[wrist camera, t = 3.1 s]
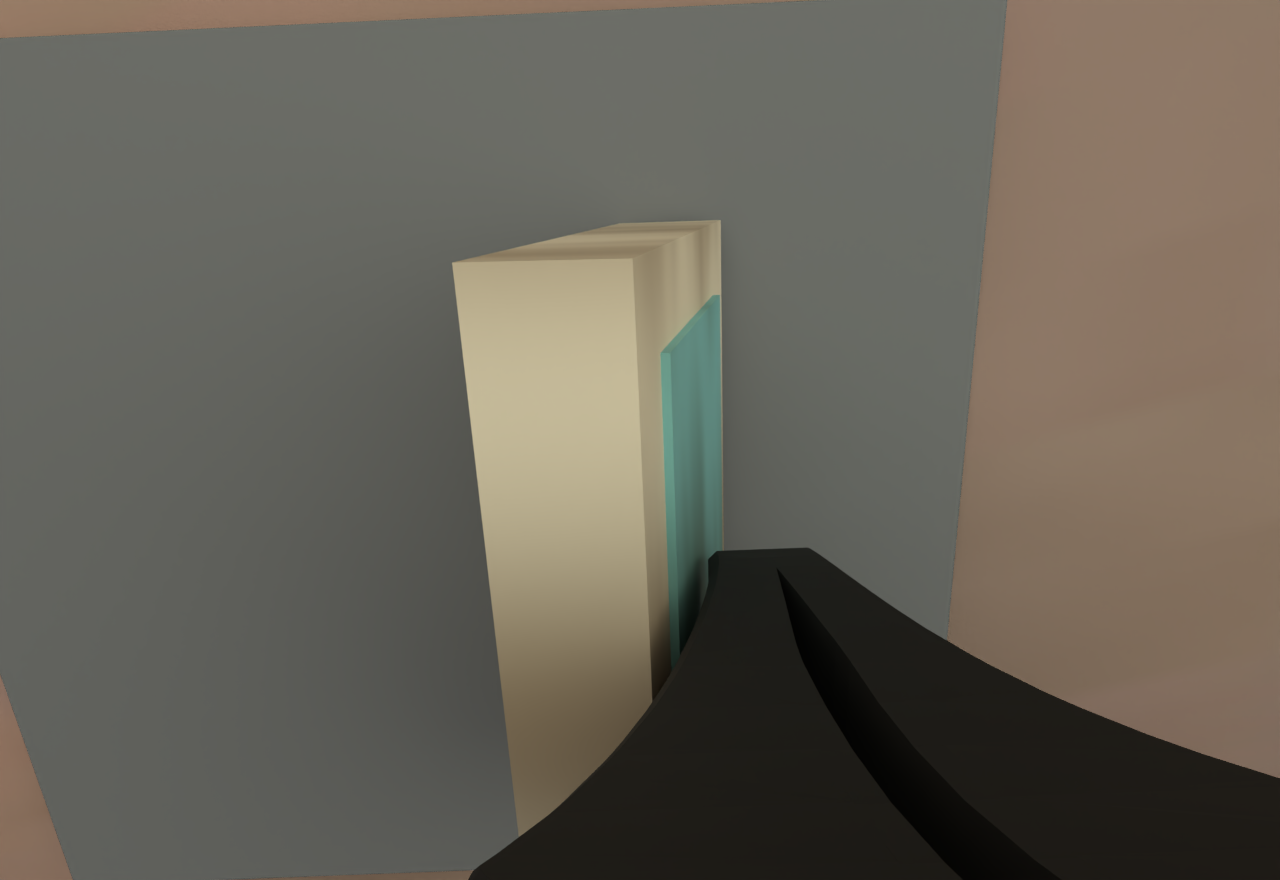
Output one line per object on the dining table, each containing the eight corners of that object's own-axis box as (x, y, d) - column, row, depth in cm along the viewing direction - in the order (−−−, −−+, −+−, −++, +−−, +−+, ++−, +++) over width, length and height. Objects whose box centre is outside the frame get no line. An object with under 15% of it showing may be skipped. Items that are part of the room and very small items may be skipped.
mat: (916, 830, 17) (926, 852, 16) (93, 861, 17) (75, 884, 16) (990, 0, 12) (1007, -9, 11) (-180, 55, 12) (-221, 48, 11)
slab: (730, 756, 15) (677, 1095, 9) (645, 745, 15) (545, 1067, 10) (726, 219, 12) (644, 258, 6) (619, 223, 12) (452, 262, 7)
